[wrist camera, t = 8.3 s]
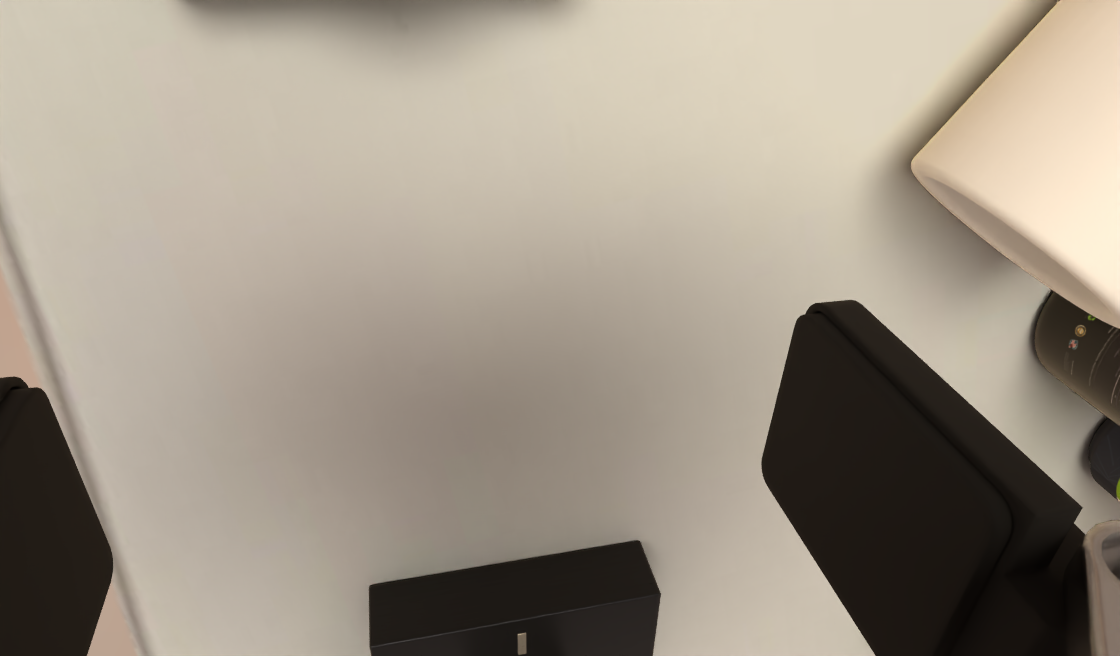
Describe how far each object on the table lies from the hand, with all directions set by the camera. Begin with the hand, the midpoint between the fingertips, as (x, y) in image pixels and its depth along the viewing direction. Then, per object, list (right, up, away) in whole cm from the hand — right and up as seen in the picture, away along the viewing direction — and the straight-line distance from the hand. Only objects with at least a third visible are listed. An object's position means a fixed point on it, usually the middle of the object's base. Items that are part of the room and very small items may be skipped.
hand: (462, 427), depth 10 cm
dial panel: (-1, -13, +26) cm, 29 cm away
